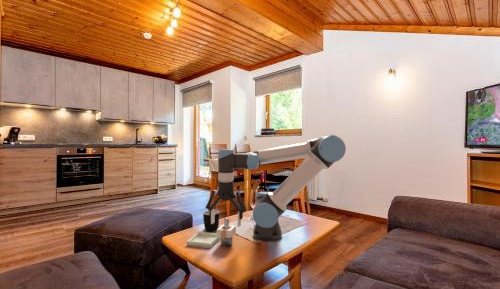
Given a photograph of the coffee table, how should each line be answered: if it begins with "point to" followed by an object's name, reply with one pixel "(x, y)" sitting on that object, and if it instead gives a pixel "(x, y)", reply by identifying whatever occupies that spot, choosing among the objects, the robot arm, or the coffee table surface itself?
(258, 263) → the coffee table surface
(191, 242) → the tray
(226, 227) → the peg stand
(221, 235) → the white hollow block
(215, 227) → the mug
